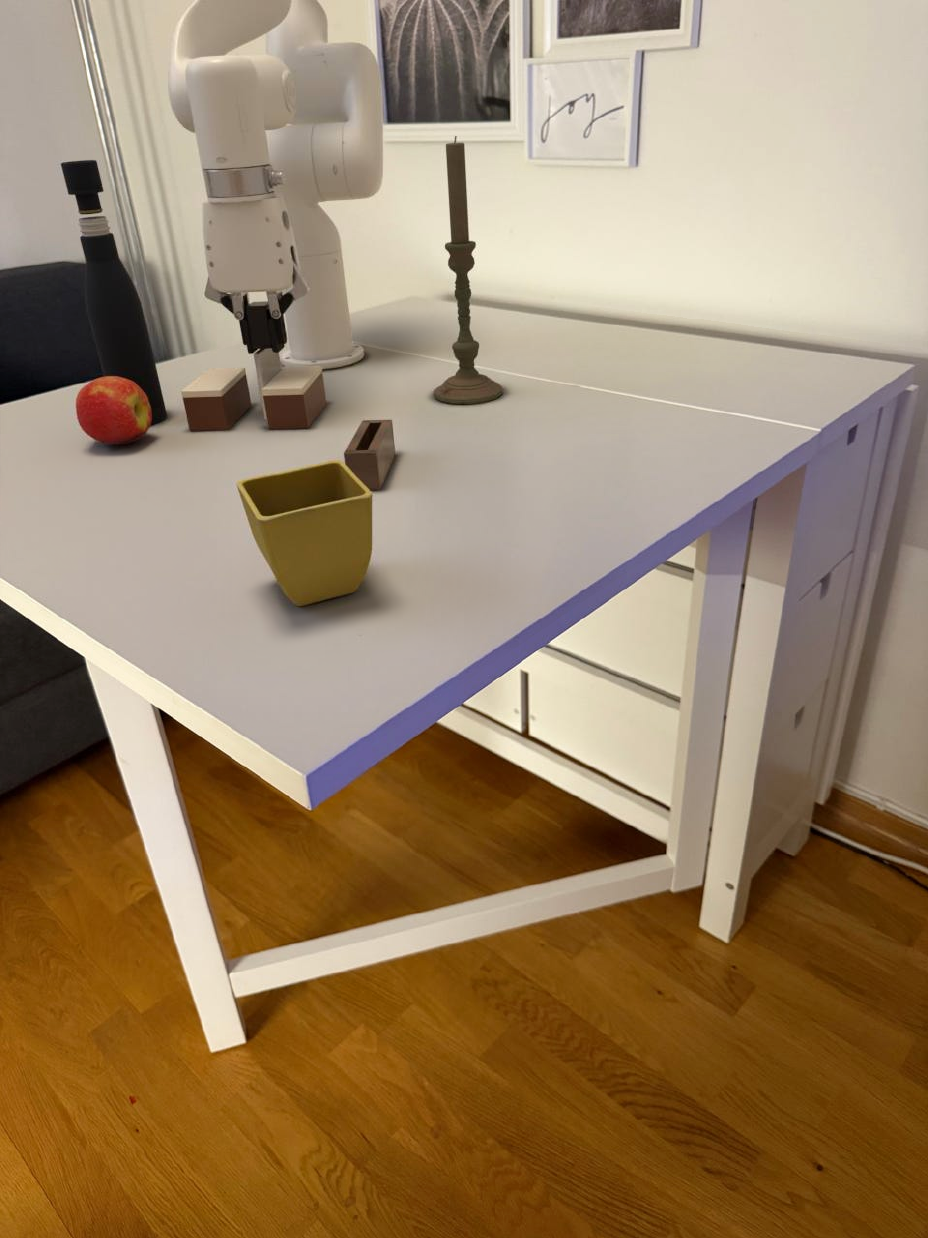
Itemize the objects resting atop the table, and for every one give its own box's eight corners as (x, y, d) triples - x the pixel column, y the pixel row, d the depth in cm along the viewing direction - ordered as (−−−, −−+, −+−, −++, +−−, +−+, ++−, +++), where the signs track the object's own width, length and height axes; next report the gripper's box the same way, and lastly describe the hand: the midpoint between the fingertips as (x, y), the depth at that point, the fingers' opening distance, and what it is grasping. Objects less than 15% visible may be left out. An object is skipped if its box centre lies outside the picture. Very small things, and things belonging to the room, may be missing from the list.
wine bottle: (152, 428, 113) (88, 162, 98) (106, 427, 115) (36, 164, 99) (176, 412, 119) (118, 157, 103) (132, 411, 120) (69, 160, 105)
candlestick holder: (513, 386, 120) (506, 131, 105) (486, 407, 113) (474, 137, 98) (452, 381, 124) (436, 134, 108) (421, 401, 116) (400, 140, 101)
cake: (215, 406, 120) (208, 368, 117) (251, 405, 119) (245, 367, 117) (189, 430, 111) (180, 391, 109) (228, 429, 111) (220, 389, 108)
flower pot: (278, 626, 69) (258, 518, 64) (254, 579, 76) (234, 479, 71) (386, 598, 72) (374, 493, 67) (353, 555, 79) (340, 458, 74)
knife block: (366, 454, 101) (362, 419, 99) (395, 453, 100) (392, 419, 98) (348, 490, 92) (343, 453, 90) (380, 489, 91) (376, 452, 89)
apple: (130, 456, 104) (113, 388, 100) (70, 453, 107) (51, 386, 103) (169, 434, 111) (154, 369, 107) (111, 431, 113) (94, 367, 109)
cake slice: (289, 404, 119) (283, 366, 116) (326, 403, 118) (321, 365, 116) (268, 429, 110) (261, 389, 108) (308, 428, 110) (302, 387, 107)
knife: (275, 401, 117) (259, 297, 111) (293, 401, 117) (277, 297, 111) (257, 419, 111) (238, 310, 104) (276, 419, 110) (258, 309, 104)
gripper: (317, 178, 103) (337, 340, 113) (183, 185, 105) (213, 345, 114) (300, 184, 97) (323, 356, 106) (158, 192, 99) (193, 360, 108)
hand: (266, 349), depth 110 cm, fingers closed on knife, 2 cm apart
